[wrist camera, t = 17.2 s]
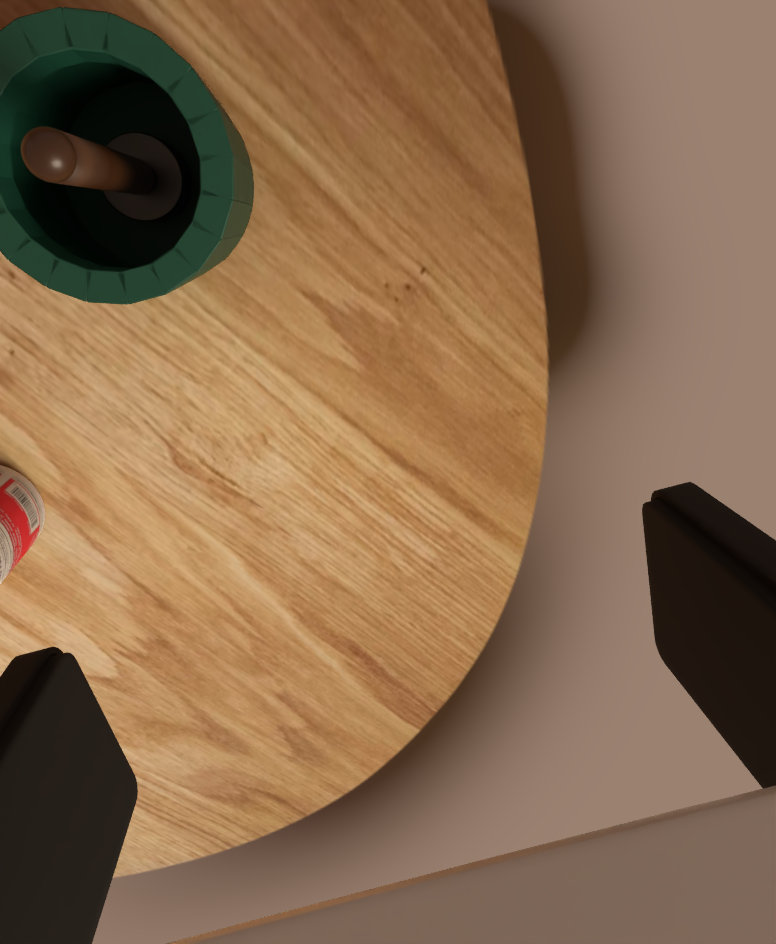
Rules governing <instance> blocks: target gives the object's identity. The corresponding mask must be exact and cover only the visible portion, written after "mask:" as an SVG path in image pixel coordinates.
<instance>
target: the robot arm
mask: <svg viewBox="0 0 776 944" xmlns="http://www.w3.org/2000/svg"><path fill="white" fill-rule="evenodd" d="M642 514H643V524H644V534H645V545H646V555H647V565H648V575H649V585H650V595H651V605H652V615H653V624H654V635H655V642H656V646H657V649H658V651H659V654H660V656H661V658H662V660H663V661H664V663H665V664H666V666H667V667H668V668H669V669H670V670H671V672H672V673H673V674H674V676H675V677H676V678H677V680H678V681H679V682H680V683H681V685H682V686H683V687H684V688H685V690H686V691H687V692H688V694H689V695H690V696H691V697H692V699H693V700H694V701H695V703H696V704H697V705H698V706H699V707H700V709H701V710H702V711H703V713H704V714H705V715H706V717H707V718H708V719H709V720H710V722H711V723H712V724H713V725H714V727H715V728H716V729H717V731H718V732H719V733H720V734H721V736H722V737H723V738H724V739H725V741H726V742H727V743H728V745H729V746H730V747H731V748H732V750H733V751H734V752H735V753H736V755H737V756H738V757H739V759H740V760H741V761H742V762H743V764H744V765H745V766H746V767H747V769H748V770H749V771H750V773H751V774H752V775H753V776H754V778H755V779H756V780H757V781H758V783H759V784H760V785H761V787H762V788H763V789H760V790H756V791H753V792H748V793H744V794H741V795H737V796H733V797H729V798H725V799H721V800H716V801H712V802H708V803H703V804H699V805H695V806H691V807H687V808H683V809H679V810H675V811H671V812H667V813H663V814H659V815H656V816H652V817H648V818H644V819H640V820H636V821H632V822H628V823H624V824H620V825H616V826H613V827H609V828H605V829H601V830H597V831H593V832H589V833H585V834H582V835H578V836H574V837H570V838H566V839H562V840H558V841H554V842H550V843H546V844H542V845H539V846H535V847H531V848H527V849H523V850H519V851H515V852H511V853H507V854H504V855H500V856H496V857H492V858H488V859H484V860H480V861H477V862H473V863H469V864H465V865H461V866H458V867H454V868H450V869H446V870H442V871H439V872H435V873H431V874H427V875H423V876H419V877H416V878H412V879H408V880H404V881H400V882H396V883H393V884H389V885H385V886H381V887H378V888H374V889H370V890H366V891H362V892H359V893H355V894H351V895H347V896H343V897H339V898H336V899H332V900H328V901H324V902H320V903H317V904H313V905H309V906H305V907H302V908H298V909H294V910H290V911H287V912H283V913H279V914H275V915H271V916H267V917H264V918H260V919H256V920H252V921H249V922H245V923H241V924H237V925H234V926H230V927H226V928H223V929H219V930H216V931H211V932H208V933H204V934H200V935H197V936H193V937H189V938H185V939H182V940H178V941H175V942H171V943H167V944H776V541H775V540H774V539H773V538H771V537H769V536H768V535H767V534H766V533H764V532H763V531H761V530H760V529H758V528H757V527H756V526H754V525H753V524H751V523H750V522H748V521H747V520H746V519H744V518H743V517H741V516H740V515H738V514H737V513H735V512H734V511H733V510H731V509H730V508H728V507H727V506H725V505H724V504H723V503H721V502H720V501H718V500H717V499H715V498H714V497H712V496H711V495H710V494H708V493H707V492H705V491H704V490H703V489H701V488H700V487H698V486H697V485H695V484H694V483H691V482H688V483H683V484H679V485H676V486H672V487H668V488H664V489H660V490H657V491H654V492H653V493H652V497H651V501H650V502H646V503H644V504H643V508H642ZM137 792H138V790H137V782H136V778H135V775H134V773H133V771H132V769H131V767H130V765H129V763H128V761H127V759H126V757H125V755H124V753H123V751H122V749H121V747H120V745H119V743H118V741H117V739H116V737H115V735H114V733H113V731H112V729H111V727H110V725H109V723H108V721H107V719H106V717H105V715H104V714H103V712H102V710H101V708H100V706H99V704H98V702H97V700H96V698H95V696H94V694H93V692H92V690H91V688H90V686H89V684H88V682H87V680H86V678H85V676H84V674H83V672H82V670H81V668H80V666H79V664H78V662H77V660H76V659H75V657H74V656H73V655H72V654H71V653H63V652H62V651H61V650H60V649H59V648H56V647H50V648H46V649H42V650H39V651H35V652H31V653H27V654H23V655H20V656H16V657H15V658H14V659H13V660H12V661H11V662H10V664H9V665H8V667H7V668H6V670H5V671H4V672H3V674H2V675H1V677H0V944H92V941H93V938H94V935H95V932H96V928H97V925H98V922H99V919H100V916H101V912H102V909H103V906H104V903H105V900H106V897H107V893H108V890H109V887H110V884H111V880H112V877H113V874H114V871H115V868H116V865H117V861H118V858H119V855H120V852H121V849H122V845H123V842H124V839H125V836H126V833H127V829H128V826H129V823H130V820H131V817H132V813H133V810H134V807H135V804H136V800H137Z"/></svg>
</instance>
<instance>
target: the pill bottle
mask: <svg viewBox="0 0 776 944" xmlns="http://www.w3.org/2000/svg"><path fill="white" fill-rule="evenodd" d="M44 522H45V507H44V502H43V500H42V497H41V496H40V494H39V492H38V491H37V489H36V488H35V486H34V485H33V484H32V483H31V482H30V481H29V480H28V479H27V478H25V477H24V476H23V475H21V474H20V473H18V472H16V471H14V470H12V469H10V468H8V467H5V466H2V465H0V584H1V583H2V581H3V580H4V579H5V578H6V577H7V575H8V574H9V573H10V572H11V570H12V569H13V568H14V567H15V565H16V564H17V563H18V562H19V560H20V559H21V558H22V557H23V556H24V554H25V553H26V552H27V551H28V549H29V548H30V547H31V546H32V544H33V543H34V542H35V540H36V539H37V538H38V536H39V535H40V533H41V531H42V529H43V526H44Z"/></svg>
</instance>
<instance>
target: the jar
mask: <svg viewBox="0 0 776 944" xmlns="http://www.w3.org/2000/svg"><path fill="white" fill-rule="evenodd" d="M41 126H46V127H52V128H55V129H58V130H61V131H63V132H66V133H69V134H72V135H75V136H77V137H80V138H83V139H86V140H88V141H91V142H94V143H97V144H100V145H102V146H105V145H106V144H107V143H108V142H109V141H110V140H111V139H113V138H114V137H116V136H118V135H120V134H123V133H126V132H143V133H147V134H149V135H152V136H154V137H156V138H158V139H160V140H162V141H163V142H165V143H167V144H169V145H170V146H172V147H173V148H175V149H176V150H177V151H178V152H179V153H180V154H181V156H182V157H183V158H184V160H185V161H186V163H187V165H188V167H189V170H190V173H191V177H192V193H191V197H190V200H189V202H188V204H187V206H186V207H185V209H184V210H183V211H182V212H181V213H180V214H178V215H177V216H176V217H174V218H172V219H169V220H165V221H152V222H144V221H137V220H133V219H130V218H128V217H126V216H124V215H122V214H121V213H119V212H118V211H117V210H115V209H114V208H113V207H112V206H111V205H110V203H109V202H108V201H107V199H106V198H105V196H104V195H103V193H102V190H100V189H93V188H85V187H78V186H71V185H64V184H57V183H50V182H46V181H44V180H42V179H39V178H38V177H36V176H35V175H33V174H32V173H31V172H30V171H29V169H28V168H27V167H26V165H25V163H24V161H23V158H22V155H21V143H22V140H23V138H24V136H25V135H26V134H27V133H28V132H29V131H30V130H32V129H33V128H36V127H41ZM253 198H254V182H253V173H252V167H251V163H250V159H249V156H248V153H247V150H246V147H245V144H244V141H243V139H242V137H241V135H240V134H239V132H238V130H237V129H236V127H235V126H234V124H233V123H232V121H231V119H230V118H229V116H228V115H227V113H226V112H225V110H224V109H223V108H222V106H221V105H220V103H219V102H218V101H217V99H216V98H215V97H214V95H213V94H212V93H211V91H210V90H209V89H208V87H207V86H206V85H205V83H204V82H203V81H202V79H201V78H200V77H199V75H198V74H197V73H196V71H195V70H194V69H193V68H192V66H191V65H190V64H189V63H188V62H186V61H185V60H184V59H183V58H182V57H181V56H180V55H179V54H177V53H176V52H175V51H174V50H173V49H172V48H171V47H170V46H168V45H167V44H166V43H165V42H164V41H163V40H162V39H161V38H159V37H158V36H157V35H156V34H154V33H153V32H151V31H149V30H147V29H145V28H142V27H140V26H138V25H136V24H134V23H132V22H130V21H127V20H125V19H123V18H121V17H119V16H117V15H115V14H112V13H108V12H104V11H95V10H86V9H77V8H68V7H63V8H61V7H57V8H53V9H49V10H46V11H42V12H38V13H34V14H30V15H26V16H23V17H19V18H17V19H15V20H14V21H12V22H11V23H10V24H8V25H7V26H6V27H4V28H3V29H2V30H0V251H1V252H2V254H3V255H4V256H5V257H6V258H7V259H8V260H9V261H10V262H11V263H13V264H14V265H15V266H17V267H18V268H20V269H21V270H22V271H24V272H25V273H27V274H28V275H30V276H31V277H32V278H34V279H35V280H37V281H38V282H39V283H41V284H42V285H44V286H47V287H48V288H49V289H52V290H55V291H58V292H61V293H63V294H66V295H69V296H72V297H74V298H77V299H80V300H83V301H88V302H92V303H110V304H132V303H136V302H140V301H144V300H147V299H151V298H155V297H158V296H162V295H166V294H167V293H169V292H171V291H173V290H175V289H177V288H179V287H181V286H182V285H184V284H186V283H188V282H190V281H192V280H193V279H195V278H197V277H199V276H201V275H203V274H204V273H206V272H207V271H209V270H210V269H212V268H213V267H215V266H216V265H217V264H219V263H220V262H222V261H223V260H225V259H226V258H227V257H228V256H229V254H230V253H231V252H232V250H233V249H234V248H235V247H236V245H237V244H238V242H239V241H240V239H241V238H242V236H243V234H244V232H245V229H246V227H247V225H248V222H249V219H250V215H251V211H252V207H253Z"/></svg>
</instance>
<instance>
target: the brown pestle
mask: <svg viewBox="0 0 776 944" xmlns="http://www.w3.org/2000/svg"><path fill="white" fill-rule="evenodd" d="M21 155H22V158H23V161H24V163H25V165H26V167H27V168H28V169H29V171H30V172H31V173H32V174H33V175H35V176H36V177H38V178H39V179H42V180H44V181H46V182H50V183H57V184H64V185H71V186H78V187H85V188H93V189H100V190H102V193H103V195H104V196H105V198H106V199H107V201H108V202H109V203H110V205H111V206H112V207H113V208H114V209H115V210H117V211H118V212H119V213H121V214H122V215H124V216H126V217H128V218H130V219H133V220H137V221H144V222H152V221H165V220H169V219H172V218H174V217H176V216H177V215H178V214H180V213H181V212H182V211H183V210H184V209H185V207H186V206H187V204H188V202H189V200H190V197H191V193H192V177H191V173H190V170H189V167H188V165H187V163H186V161H185V160H184V158H183V157H182V156H181V154H180V153H179V152H178V151H177V150H176V149H175V148H173V147H172V146H170V145H169V144H167V143H165V142H163V141H162V140H160V139H158V138H156V137H154V136H152V135H149V134H147V133H143V132H126V133H123V134H120V135H118V136H116V137H114V138H113V139H111V140H110V141H109V142H108V143H107V144H106V145H105V146H102V145H100V144H97V143H94V142H91V141H88V140H86V139H83V138H80V137H77V136H75V135H72V134H69V133H66V132H63V131H61V130H58V129H55V128H52V127H46V126H41V127H36V128H33V129H32V130H30V131H29V132H28V133H27V134H26V135H25V136H24V138H23V140H22V143H21Z"/></svg>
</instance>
